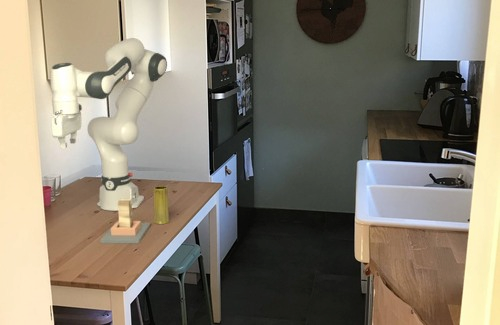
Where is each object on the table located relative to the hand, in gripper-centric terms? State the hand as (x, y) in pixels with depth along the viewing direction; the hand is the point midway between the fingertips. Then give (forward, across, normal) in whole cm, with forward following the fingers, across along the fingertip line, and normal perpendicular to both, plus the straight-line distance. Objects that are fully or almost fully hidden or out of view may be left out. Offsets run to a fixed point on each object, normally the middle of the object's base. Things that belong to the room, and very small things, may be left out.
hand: (68, 145), depth 207 cm
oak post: (+32, -3, -21) cm, 38 cm away
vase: (+33, +11, -31) cm, 47 cm away
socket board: (+33, -3, -21) cm, 39 cm away
